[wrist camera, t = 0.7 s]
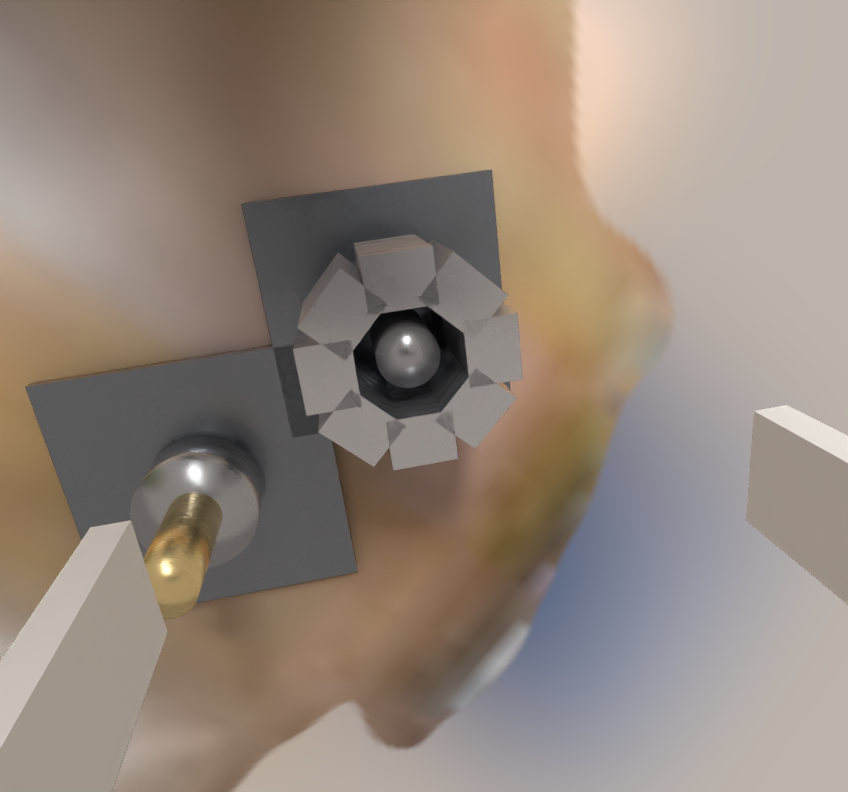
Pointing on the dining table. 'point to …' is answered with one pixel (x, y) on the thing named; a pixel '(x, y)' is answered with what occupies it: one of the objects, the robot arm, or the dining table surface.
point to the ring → (372, 394)
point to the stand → (336, 233)
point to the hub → (200, 473)
